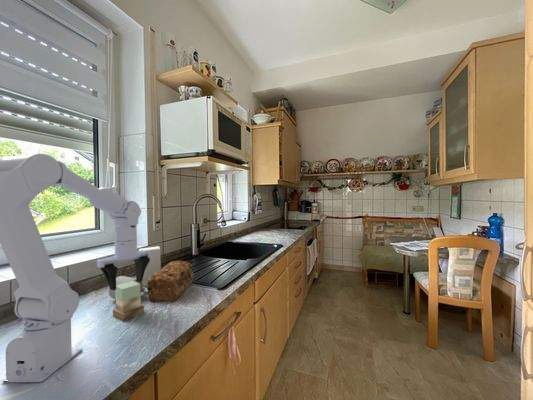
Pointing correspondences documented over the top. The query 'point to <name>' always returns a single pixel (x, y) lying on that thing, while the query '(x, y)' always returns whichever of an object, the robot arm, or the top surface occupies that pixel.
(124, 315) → the walnut slab
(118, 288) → the sage block
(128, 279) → the ceramic mug
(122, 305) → the beech block
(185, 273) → the bread
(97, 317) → the top surface
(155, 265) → the skincare box
